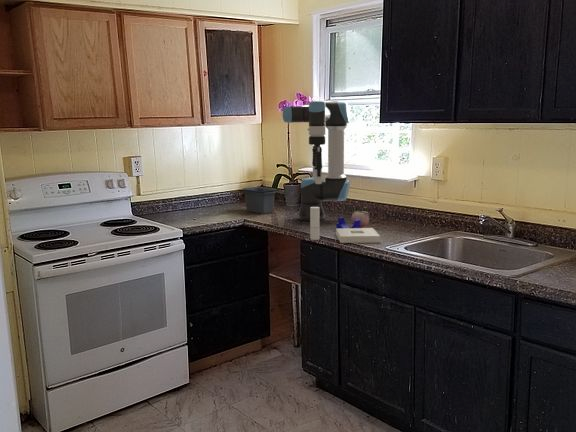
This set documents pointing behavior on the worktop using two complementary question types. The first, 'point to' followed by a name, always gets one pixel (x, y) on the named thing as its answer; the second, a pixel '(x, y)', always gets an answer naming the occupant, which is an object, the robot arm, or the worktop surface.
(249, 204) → the storage bin
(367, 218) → the decorative fruit
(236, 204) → the worktop surface
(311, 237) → the tube
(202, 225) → the worktop surface
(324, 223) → the worktop surface
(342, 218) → the blue shoe
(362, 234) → the socket block
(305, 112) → the robot arm
